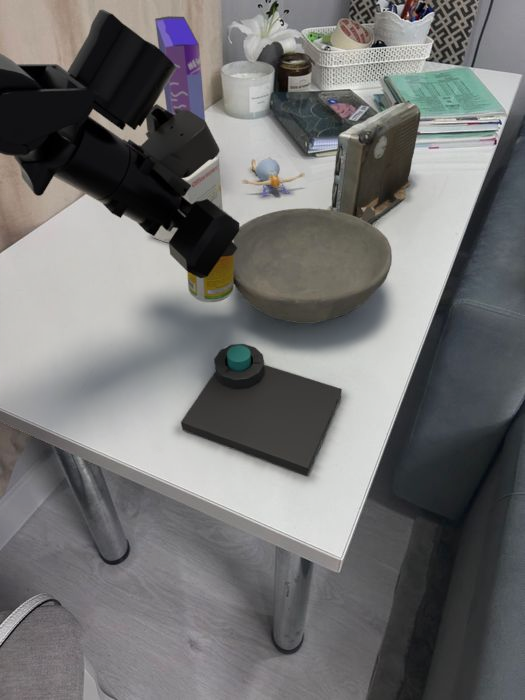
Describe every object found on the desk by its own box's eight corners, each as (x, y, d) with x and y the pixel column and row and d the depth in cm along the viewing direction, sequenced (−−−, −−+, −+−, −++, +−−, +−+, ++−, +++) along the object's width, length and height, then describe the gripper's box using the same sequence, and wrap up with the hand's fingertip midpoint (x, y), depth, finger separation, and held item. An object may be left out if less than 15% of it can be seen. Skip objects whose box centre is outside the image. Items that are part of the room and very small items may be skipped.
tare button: (223, 367, 57) (222, 357, 56) (233, 352, 59) (233, 342, 58) (244, 374, 56) (244, 364, 55) (254, 358, 58) (254, 349, 57)
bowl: (358, 370, 60) (368, 319, 55) (200, 325, 66) (194, 274, 60) (396, 272, 74) (407, 223, 69) (263, 241, 80) (263, 194, 74)
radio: (389, 171, 97) (404, 86, 87) (430, 185, 93) (451, 98, 83) (312, 217, 85) (319, 126, 75) (355, 236, 81) (368, 142, 70)
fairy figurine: (290, 146, 97) (309, 166, 87) (290, 172, 100) (308, 194, 90) (230, 152, 95) (243, 174, 86) (232, 178, 98) (245, 202, 89)
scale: (180, 429, 54) (176, 411, 52) (229, 356, 62) (227, 338, 60) (307, 476, 50) (309, 458, 48) (342, 392, 58) (345, 374, 56)
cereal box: (211, 198, 90) (198, 43, 73) (184, 201, 89) (165, 45, 72) (197, 156, 102) (183, 15, 85) (173, 159, 101) (154, 16, 84)
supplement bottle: (240, 283, 63) (242, 212, 56) (221, 309, 59) (221, 236, 53) (201, 271, 64) (198, 200, 57) (180, 295, 61) (174, 223, 54)
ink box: (182, 213, 86) (173, 144, 78) (225, 226, 83) (221, 155, 75) (150, 238, 81) (138, 166, 73) (196, 252, 78) (188, 179, 70)
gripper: (215, 124, 38) (316, 214, 51) (114, 62, 49) (218, 149, 62) (135, 247, 41) (251, 305, 53) (55, 161, 52) (167, 226, 64)
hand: (220, 239), depth 58 cm, fingers closed on supplement bottle, 5 cm apart
